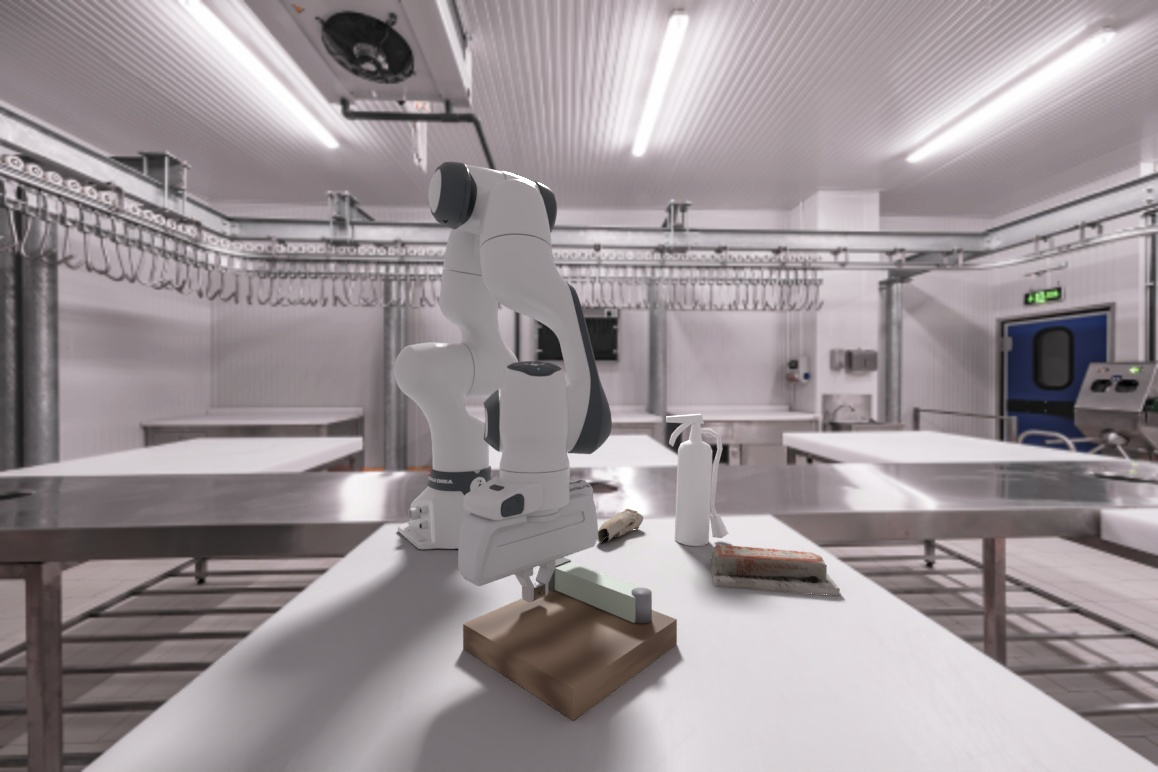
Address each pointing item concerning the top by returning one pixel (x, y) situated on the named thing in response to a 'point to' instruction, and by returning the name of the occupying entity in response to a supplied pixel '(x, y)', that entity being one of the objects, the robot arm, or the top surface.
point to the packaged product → (771, 570)
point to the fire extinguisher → (696, 484)
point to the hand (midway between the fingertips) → (535, 597)
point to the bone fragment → (620, 524)
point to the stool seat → (567, 648)
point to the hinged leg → (602, 591)
